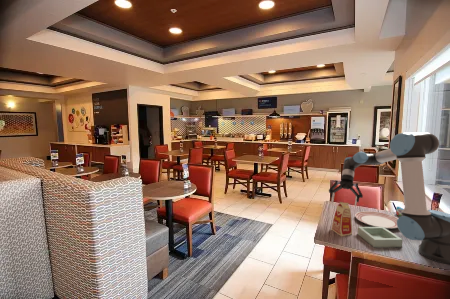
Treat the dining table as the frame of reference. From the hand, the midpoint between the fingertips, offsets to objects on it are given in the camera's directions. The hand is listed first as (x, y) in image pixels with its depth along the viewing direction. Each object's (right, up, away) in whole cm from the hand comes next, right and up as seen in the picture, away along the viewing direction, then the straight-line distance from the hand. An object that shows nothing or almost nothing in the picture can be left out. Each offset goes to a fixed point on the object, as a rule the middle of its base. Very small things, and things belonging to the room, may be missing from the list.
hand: (343, 204), depth 149 cm
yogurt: (+53, -14, +17) cm, 57 cm away
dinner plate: (+29, -16, +9) cm, 34 cm away
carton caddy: (+13, -18, -15) cm, 27 cm away
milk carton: (-3, -17, -4) cm, 18 cm away
